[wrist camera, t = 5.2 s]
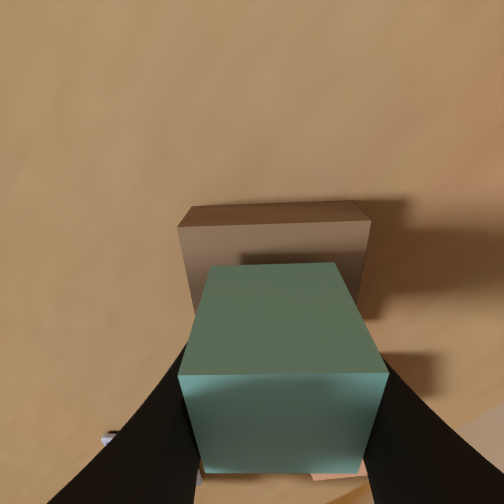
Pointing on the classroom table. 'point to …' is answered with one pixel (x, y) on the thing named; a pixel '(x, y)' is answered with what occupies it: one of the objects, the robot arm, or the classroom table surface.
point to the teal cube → (280, 371)
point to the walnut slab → (274, 238)
